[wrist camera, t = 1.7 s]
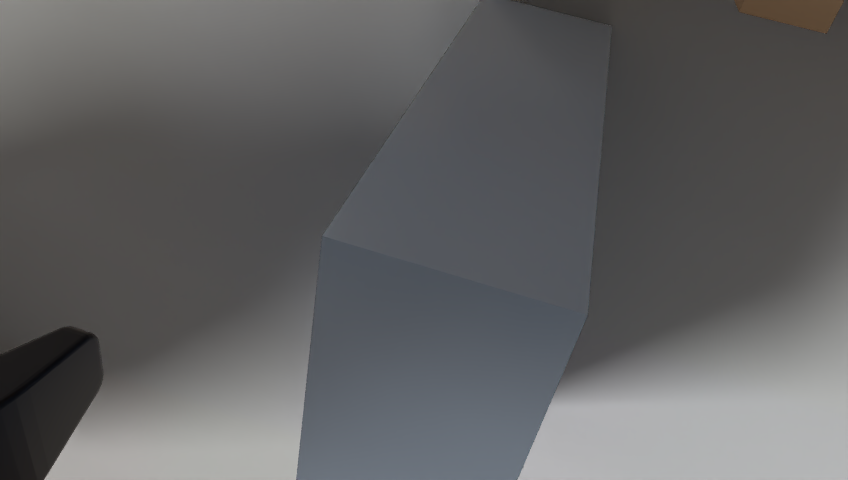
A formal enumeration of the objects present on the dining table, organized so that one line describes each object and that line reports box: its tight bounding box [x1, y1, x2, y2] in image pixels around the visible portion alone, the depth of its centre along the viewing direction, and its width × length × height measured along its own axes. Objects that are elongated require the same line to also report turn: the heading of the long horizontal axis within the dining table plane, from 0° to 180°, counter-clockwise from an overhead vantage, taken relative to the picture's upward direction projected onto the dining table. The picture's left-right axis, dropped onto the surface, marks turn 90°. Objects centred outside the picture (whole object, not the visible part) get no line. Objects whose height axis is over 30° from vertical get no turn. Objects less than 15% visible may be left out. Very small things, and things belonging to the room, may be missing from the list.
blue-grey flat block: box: [296, 0, 612, 480], centre depth 10 cm, size 9×2×7 cm, turn 170°
